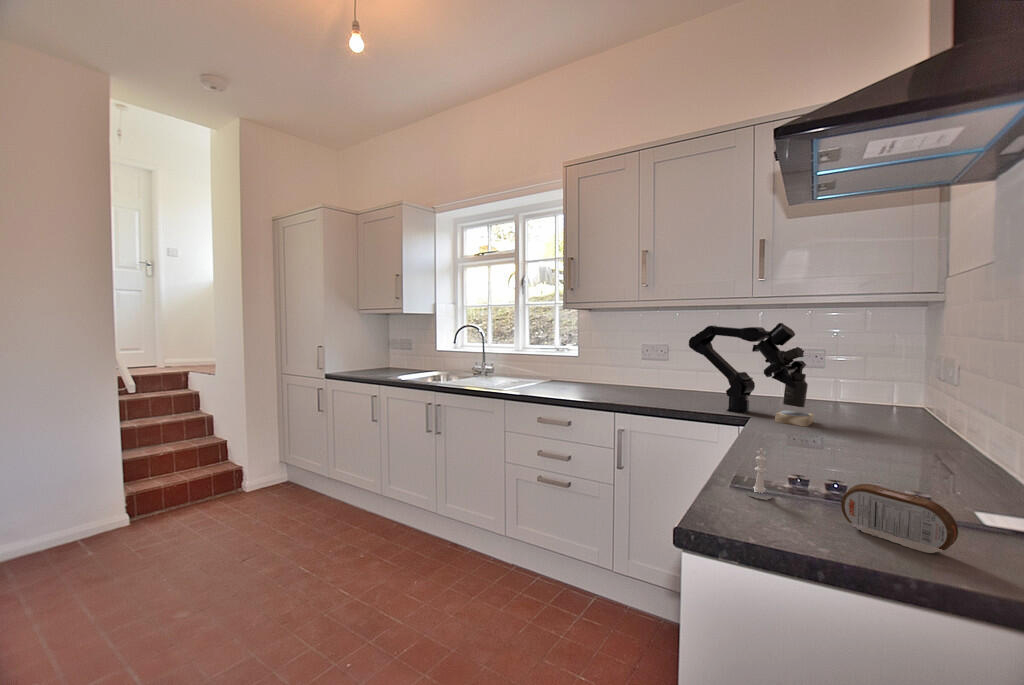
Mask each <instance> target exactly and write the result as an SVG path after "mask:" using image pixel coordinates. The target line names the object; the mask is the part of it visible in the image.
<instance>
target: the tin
mask: <svg viewBox="0 0 1024 685" xmlns="http://www.w3.org/2000/svg"><path fill="white" fill-rule="evenodd" d="M840 505H841V506H840V508H841V512H842V514H843V517H844V519H845V520H847V521H846V522H848V523H849V522H850V523H853V524H858V525H862V526H865V527H868V528H871V529H874V530H878V531H882V532H884V533H888V534H891V535H893V536H896V537H899V538H902V539H906V540H910V541H914V542H917V543H923V544H926V545H930V546H933V547H936V548H939V549H942V550H944V551H946V550H947V549H949V548H950V547H951V546H952V545H954V543H955V542H957V539H958V536H959V528H958V524H957V522H956V520H955V518H954V517H953V515H952V514H951V513H950V512H949V511H948V510H947V509H946V508H945V507H943V506H942V505H941V504H939V503H937V502H935V501H934V500H930V499H927V498H925V497H920V496H916V495H913V494H909V493H905V492H901V491H898V490H894V489H890V488H886V487H882V486H878V485H876V484H871V483H870V484H869V483H861V484H860V483H859V484H856V485H853V486H852V487H850V488H849V489H848V490H847V491H846V492H845V493H844V494H843V496H842V498H841V502H840ZM850 523H849V524H850Z"/></svg>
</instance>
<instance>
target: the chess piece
mask: <svg viewBox="0 0 1024 685" xmlns="http://www.w3.org/2000/svg"><path fill="white" fill-rule="evenodd" d="M756 454H758V455H757V456H755V461H756V465H757V466H756V467H755V468H754V470H755V471H757V474H756V480H755V484H754V486H753V487H752V488H754V492H759V493H760V492H761V493H763V492H765V490H767V488H766V487H765V482H764V472H767V469H766V468H764V467H765V464H766V462H767V458H766V457H764V456H763V455H766V454H767V452H766V451H763V448H760V449H759V450H756Z"/></svg>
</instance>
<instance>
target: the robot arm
mask: <svg viewBox="0 0 1024 685" xmlns="http://www.w3.org/2000/svg"><path fill="white" fill-rule="evenodd" d="M716 336H721V337H730V338H738V339H741V340H743V341H747V342H750V343H751V342H752V343H756V342H757V344H752V350H751V352H754V353H757V352H760V353H761V355H762V356H763V357H764V358H765V359H764V362H765V363H767V364H769V365H768V366H767V367H765V368H764V369H763V374H764V375H765V377H766V378H771V379H774V380H777V381H778V382H780V383H783V384H784V385H785V384H786V385H788V386H790V387H792V388H794V389H795V388H796V387H797V386H796V385H795V383H794V382H793V380H792V379H791V377H790V372H793V373H801V374H803V370H804V368H805V367H806V366H807V364H806V363H805V361H803V360H796V359H799V358H803V357H805V356H804V353H805V351H804V350H803V348H800V347H799V346H798V347H797V346H796V347H793V348H791V349H788V350H786V351H785V350H781V349H780V348H779V347H778V346H784V345H785V344H787V342H789V341H790V340H791V339H793V338H794V337H795V336H796V332H795V331H794V330H793V329H792V328H790V327H788V326H787V325H785V324H784V322H778V323H777V324H776V326H775V327H774V328H773V329H771V330H766V329H765V328H764V327H761V326H752V327H751V326H748V327H731V326H729V327H728V326H718V325H708V326H706V327H705V328H704V329H703V330H701V331H699V332H698V333H696V334H695V335H694V336H691V337H690V338H689V340H688V347H689V348H690V349H691V350H692V351H694V352H696V353H698V354H699V355H702V356H704V357H705V358H706V360H708V361H709V362H710V363H711V364H712V365H713V366H714V367H715V368H716V369H717V370H718V371H719V372H720V373H721V374H722V375H723V376H724V377H725V378H726V379H727V381H728V384H729V388H728V389H726V391H725V393H726V396H727V397H728V408H727V409H726V412H733V413H739V412H740V414H745V413H747V412H749V411H750V400H749V397H750V396H751V394H752V392H753V391H754V390H755V386H756V385H755V384H756V382H755V381H754V378H753V377H751V376H750V375H749V374H748V373H747V372H746V371H742V372H739V371H737V370H736V369H735V368H734V367H733V366H732V365H731V364H730V363H729V362H728V361H727V360H725V358H723V357H722V356H721V355H720V354H719V353H718V352H717V351H716V350H715V349H714V348H713V344H712V341H714V339H715V337H716ZM804 381H805V382H806V378H805V379H804Z"/></svg>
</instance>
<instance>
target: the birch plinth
mask: <svg viewBox="0 0 1024 685" xmlns="http://www.w3.org/2000/svg"><path fill="white" fill-rule="evenodd" d="M814 416H815V414H814V413H809V412H802V411H795V410H787V409H782V410H780V411H778V412H776V413H775V414H774V423H781V424H787V425H793V426H800V427H808V426H810V425H812V424H813V423H814V419H815V418H814Z"/></svg>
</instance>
